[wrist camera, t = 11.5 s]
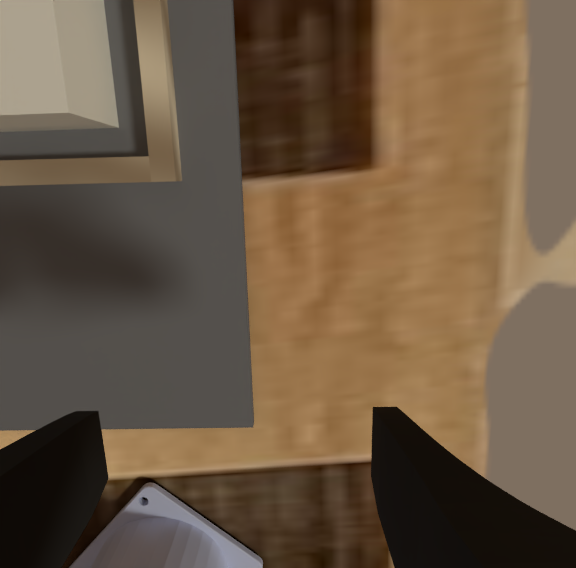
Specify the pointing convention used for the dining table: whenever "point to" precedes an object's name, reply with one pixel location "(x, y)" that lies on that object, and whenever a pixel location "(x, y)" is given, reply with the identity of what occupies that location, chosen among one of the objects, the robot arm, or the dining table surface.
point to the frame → (158, 121)
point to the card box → (55, 66)
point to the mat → (133, 254)
